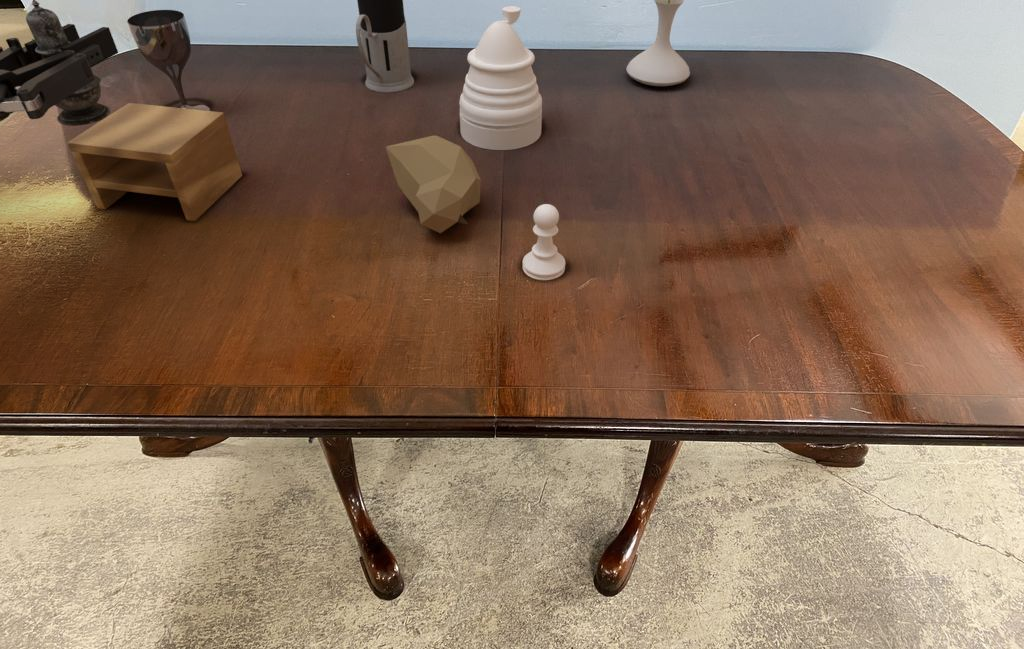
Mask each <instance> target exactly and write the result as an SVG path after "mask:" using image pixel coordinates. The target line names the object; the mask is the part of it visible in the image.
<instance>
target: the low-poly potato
mask: <svg viewBox="0 0 1024 649" xmlns="http://www.w3.org/2000/svg"><path fill="white" fill-rule="evenodd" d="M385 149H386V153H387V156H388V159H389V162H390V165H391V170H392V172H393V175H394V178H395V182H396V185H397V186H398V187H399V188H400V190H401V191H402V193H403V194H404V195H405V197H406V198H407V199H408V201H409V202H410V204H411V205H412V206H413V207H414V209H415V210H416V212H417V213H418V217H419V224H420V225H421V226H423V227H425V228H427V229H430V230H431V231H435V232H437V233H439V234H442V233H443V232H445V231H446V230H448V229H449V228H451V227H452V226H454V225H455V224H462V225H469V223H468V222H467V221H466V219H465V218H464V217H463V216H464V215H465V214H467V212H469V211H470V210H472V209H473V208H475V207H476V206H477V205H478V204H480V203H481V189H482V188H481V186H482V180H481V177H480V175H479V172H478V170H477V168H476V165H475V163H474V162H473V159H472V158H471V157H470V156H469V155H468V153H467V152H466V150H464V149H463V147H462V146H461V145H459V144H456V143H454V142H452V141H450V140H447V139H445V138H442V137H441V136H438V135H436V134H434V135H429V136H426V137H425V136H424V137H421V138H417V139H412V140H409V141H403V142H399V143H395V144H391V145H387V146H385Z"/></svg>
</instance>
